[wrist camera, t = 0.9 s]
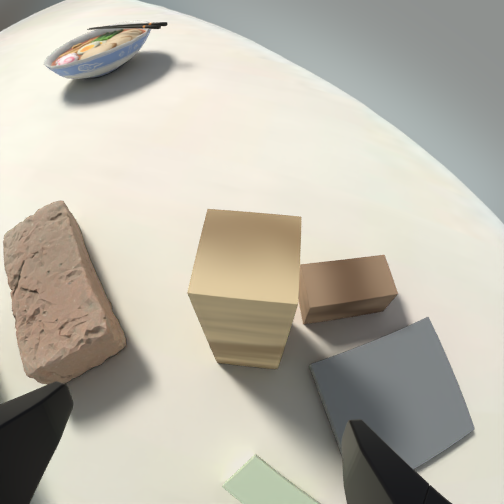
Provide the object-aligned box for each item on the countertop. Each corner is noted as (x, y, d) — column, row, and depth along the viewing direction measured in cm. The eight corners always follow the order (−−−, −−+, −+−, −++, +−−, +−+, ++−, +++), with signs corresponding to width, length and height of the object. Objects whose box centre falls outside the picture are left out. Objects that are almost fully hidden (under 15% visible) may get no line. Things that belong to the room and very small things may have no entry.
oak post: (277, 369, 23) (297, 303, 13) (217, 362, 23) (187, 292, 13) (282, 314, 25) (301, 216, 15) (225, 308, 26) (207, 208, 16)
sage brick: (317, 501, 17) (326, 509, 15) (288, 529, 16) (293, 540, 14) (255, 453, 19) (255, 455, 17) (226, 481, 18) (222, 487, 16)
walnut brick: (371, 276, 27) (384, 254, 24) (382, 312, 25) (397, 293, 22) (295, 286, 27) (300, 264, 24) (302, 325, 25) (309, 307, 22)
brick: (19, 255, 29) (-3, 230, 25) (78, 218, 31) (60, 189, 27) (57, 393, 21) (25, 381, 17) (134, 350, 24) (112, 330, 20)
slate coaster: (469, 430, 19) (474, 428, 18) (355, 495, 17) (359, 496, 16) (424, 320, 25) (428, 316, 24) (309, 366, 23) (310, 363, 22)
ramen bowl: (35, 92, 51) (24, 62, 45) (111, 46, 62) (105, 19, 55) (94, 106, 44) (80, 65, 37) (183, 52, 55) (179, 17, 48)
